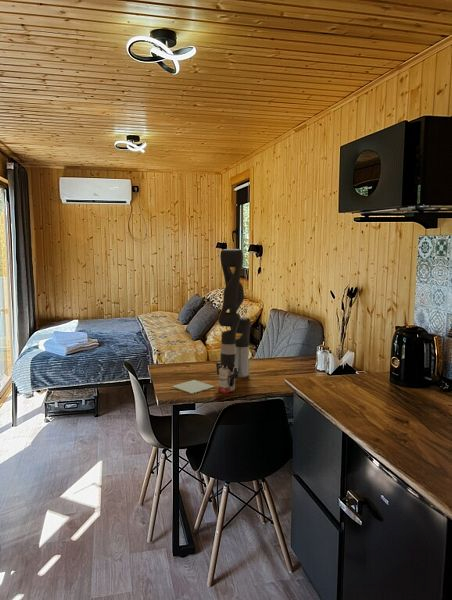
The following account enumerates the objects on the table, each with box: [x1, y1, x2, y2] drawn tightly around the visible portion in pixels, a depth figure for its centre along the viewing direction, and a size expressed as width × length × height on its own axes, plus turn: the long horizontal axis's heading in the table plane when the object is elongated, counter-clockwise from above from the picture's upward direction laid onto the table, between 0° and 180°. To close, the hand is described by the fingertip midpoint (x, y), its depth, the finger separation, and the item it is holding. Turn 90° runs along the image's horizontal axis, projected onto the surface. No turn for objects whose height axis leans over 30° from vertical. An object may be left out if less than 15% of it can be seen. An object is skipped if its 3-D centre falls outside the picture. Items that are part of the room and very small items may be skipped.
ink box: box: [218, 368, 236, 394], centre depth 235 cm, size 9×5×12 cm, turn 148°
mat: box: [171, 379, 215, 395], centre depth 239 cm, size 16×15×1 cm
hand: (226, 384), depth 235 cm, fingers closed on ink box, 5 cm apart
